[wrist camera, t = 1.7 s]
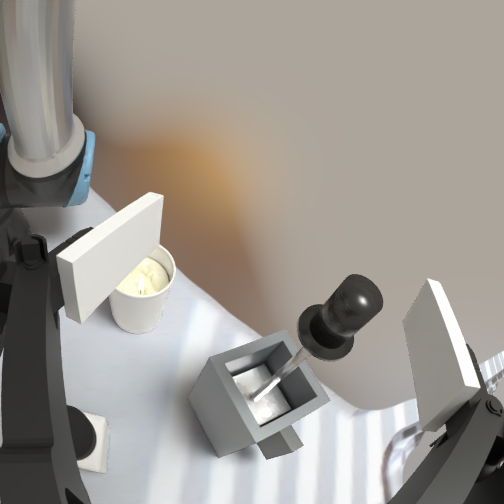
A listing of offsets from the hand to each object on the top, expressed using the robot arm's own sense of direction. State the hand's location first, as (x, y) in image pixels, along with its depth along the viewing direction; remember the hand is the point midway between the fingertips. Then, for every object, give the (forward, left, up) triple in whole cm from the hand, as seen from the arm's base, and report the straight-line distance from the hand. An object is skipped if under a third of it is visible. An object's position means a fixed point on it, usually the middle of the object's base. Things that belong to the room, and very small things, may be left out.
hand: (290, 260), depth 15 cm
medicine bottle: (-1, -15, -36) cm, 39 cm away
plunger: (+2, +7, -27) cm, 28 cm away
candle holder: (-19, 0, -36) cm, 41 cm away
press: (+3, +7, -36) cm, 37 cm away
